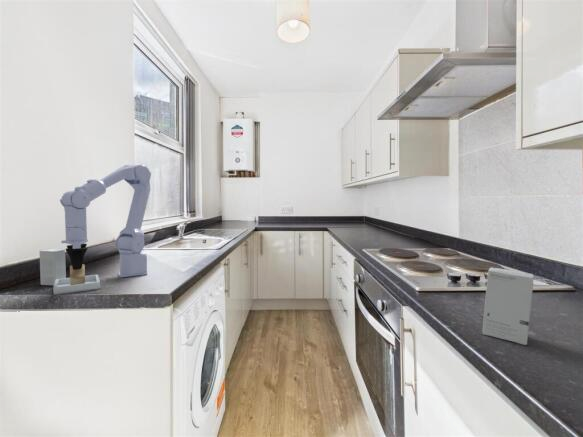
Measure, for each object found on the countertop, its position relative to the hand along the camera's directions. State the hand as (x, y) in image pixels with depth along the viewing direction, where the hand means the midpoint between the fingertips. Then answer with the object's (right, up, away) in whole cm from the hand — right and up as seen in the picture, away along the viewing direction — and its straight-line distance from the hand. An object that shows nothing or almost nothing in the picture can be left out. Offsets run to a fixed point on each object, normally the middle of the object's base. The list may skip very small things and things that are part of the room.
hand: (77, 267), depth 97 cm
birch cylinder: (0, -6, 0) cm, 6 cm away
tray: (0, -7, 0) cm, 7 cm away
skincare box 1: (-12, -7, +4) cm, 14 cm away
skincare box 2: (+121, -10, -32) cm, 125 cm away
